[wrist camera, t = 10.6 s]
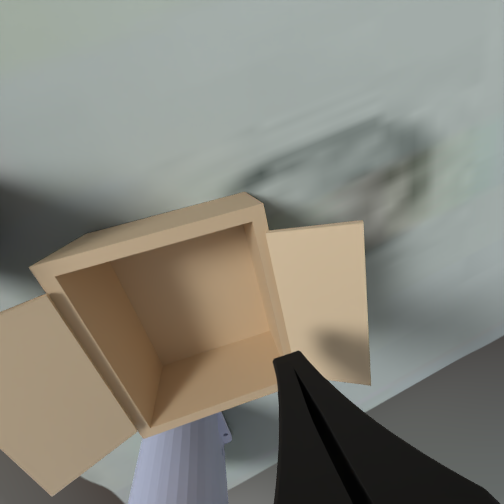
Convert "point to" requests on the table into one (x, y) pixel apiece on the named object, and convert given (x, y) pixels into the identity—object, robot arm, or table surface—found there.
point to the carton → (175, 309)
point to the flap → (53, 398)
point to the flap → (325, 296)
